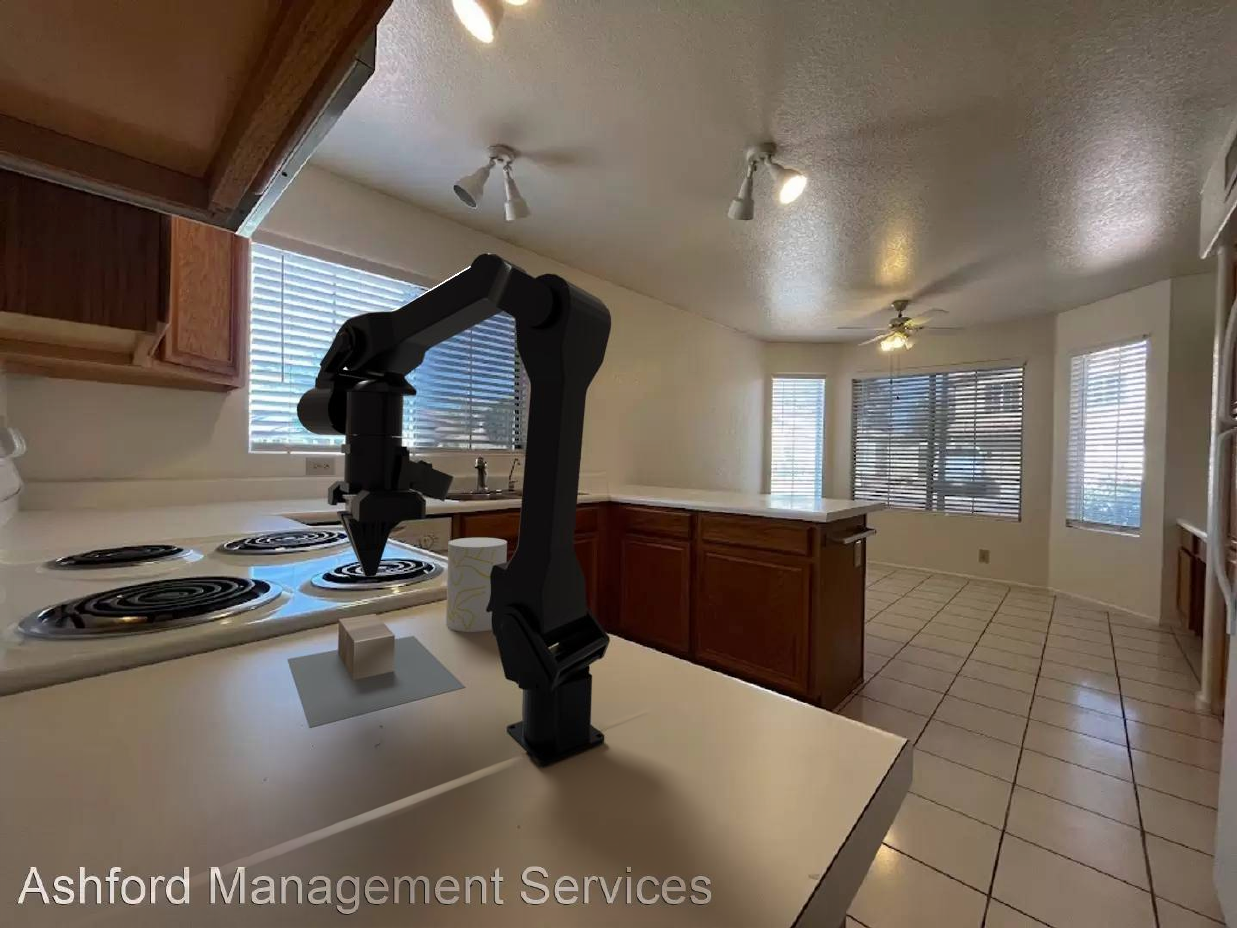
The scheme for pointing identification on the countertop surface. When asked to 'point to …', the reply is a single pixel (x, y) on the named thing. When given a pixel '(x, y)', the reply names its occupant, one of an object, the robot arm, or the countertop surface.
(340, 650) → the walnut block
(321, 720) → the mat
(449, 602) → the cup
